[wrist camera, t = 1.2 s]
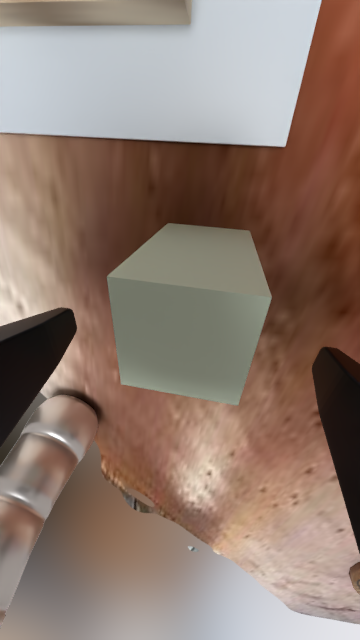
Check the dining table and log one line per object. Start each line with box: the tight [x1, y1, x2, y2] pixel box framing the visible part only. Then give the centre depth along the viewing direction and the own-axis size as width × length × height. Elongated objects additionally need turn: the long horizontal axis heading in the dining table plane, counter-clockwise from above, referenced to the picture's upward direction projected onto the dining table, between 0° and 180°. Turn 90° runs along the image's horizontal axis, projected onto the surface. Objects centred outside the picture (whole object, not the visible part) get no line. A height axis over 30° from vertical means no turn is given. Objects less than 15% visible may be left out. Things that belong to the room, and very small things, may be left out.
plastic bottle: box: [0, 395, 98, 627], centre depth 17 cm, size 6×7×20 cm
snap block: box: [107, 223, 272, 406], centre depth 11 cm, size 5×5×8 cm
